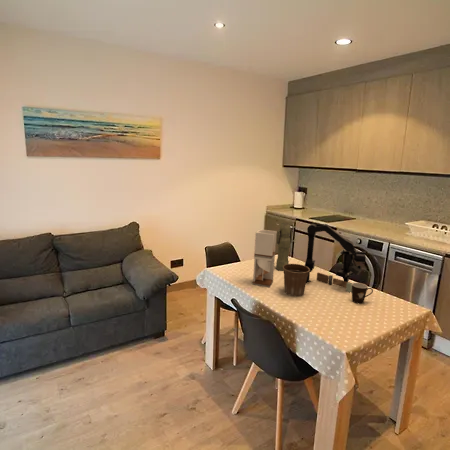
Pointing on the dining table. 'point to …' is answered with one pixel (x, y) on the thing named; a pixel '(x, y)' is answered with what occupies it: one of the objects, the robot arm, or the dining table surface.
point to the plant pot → (295, 279)
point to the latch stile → (349, 287)
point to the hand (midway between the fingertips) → (346, 283)
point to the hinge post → (324, 278)
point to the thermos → (283, 245)
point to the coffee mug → (359, 292)
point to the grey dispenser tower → (264, 257)
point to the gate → (340, 282)
